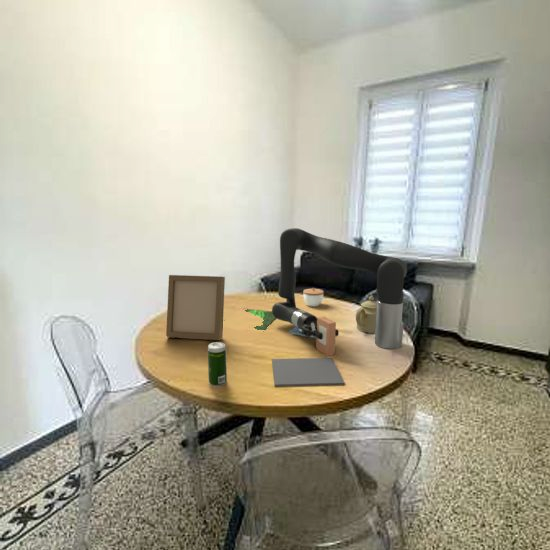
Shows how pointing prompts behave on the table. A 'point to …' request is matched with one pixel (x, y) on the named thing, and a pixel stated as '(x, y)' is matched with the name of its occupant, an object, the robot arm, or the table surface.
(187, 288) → the photo frame
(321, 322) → the card box
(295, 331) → the blue striped flat panel
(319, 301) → the lidded jar
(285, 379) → the mat
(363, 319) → the sugar bowl
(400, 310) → the robot arm
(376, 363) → the table surface
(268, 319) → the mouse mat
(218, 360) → the beer can
